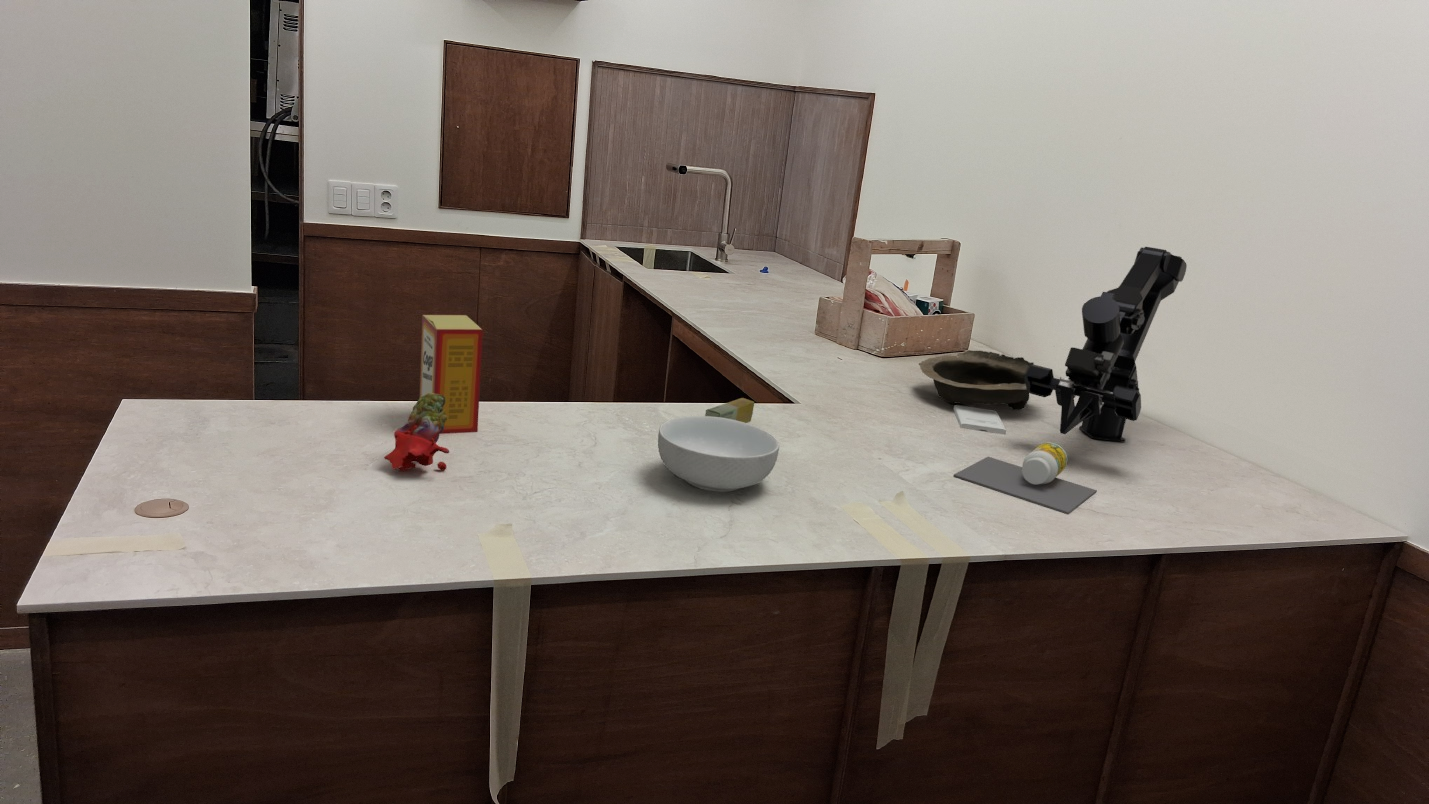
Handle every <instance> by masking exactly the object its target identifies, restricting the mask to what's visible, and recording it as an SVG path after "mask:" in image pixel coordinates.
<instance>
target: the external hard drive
mask: <svg viewBox="0 0 1429 804" xmlns="http://www.w3.org/2000/svg"><path fill="white" fill-rule="evenodd" d="M953 412H954V414H955V416H956V419H957V422H958V425H959V427H960V429H964V430H965V429H966V430H971V431H972V430H974V431H982V432H987V433H990V434H991V433H992V434H998V435H1007V429H1006V427H1005V426H1004V423H1003V421H1002V420H1001V417H1000V416H999V413H998V412H997V410H992V409H988V408H979V407H974V406H966V405H961V404H956V405H954V406H953Z"/></svg>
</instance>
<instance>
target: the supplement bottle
mask: <svg viewBox="0 0 1429 804" xmlns="http://www.w3.org/2000/svg"><path fill="white" fill-rule="evenodd" d="M1067 463H1068V456H1067V452H1066V451H1065V450H1064V448H1063V447H1061V446H1060V445H1059V444H1057V443H1053V442H1044V443H1042V444H1039V445H1038V446H1037V447H1036V448H1034V449H1033V450H1031V451H1030V452H1029V453H1028V454H1026V456H1025V457H1024V458H1023V462H1022V467H1023V468H1022V474H1023V476H1024V478H1025V479H1026V480H1027V481H1028V482H1029V483H1031V484H1047V483H1049V482H1051V481H1052V480H1054V479H1055V478H1058V476H1059V475H1060V474H1061V473H1062V472H1063V471H1064V469H1066V467H1067Z"/></svg>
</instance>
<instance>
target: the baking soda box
mask: <svg viewBox="0 0 1429 804" xmlns="http://www.w3.org/2000/svg"><path fill="white" fill-rule="evenodd" d="M483 331H484V330H483V329H482V328H481V327H480V326H479V325H478V324H477V323H476V322H475V321H474V320H472V319H471V318H470V317H469V316H468V315H467V314H422V315H421V338H420V339H421V341H420V370H419V371H420V373H419V398H418V400H419V399H420V398H421V397H422V396H424V395H426V394H428V393H435V394H439V395H443V396H444V397H445V404H444V405H443V408H442V409H443V410H445V415H446V416H447V420H446V421H445V423H444V429H443V431H442V432H441V433H440V435H444V434H461V433H463V434H465V433H478V430H479V429H478V427H479V408H480V407H479V406H480V394H481V393H480V391H481V388H480V387H481V374H482V373H481V368H482V355H483V353H482V350H483V334H484V333H483Z"/></svg>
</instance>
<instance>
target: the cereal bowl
mask: <svg viewBox="0 0 1429 804" xmlns="http://www.w3.org/2000/svg"><path fill="white" fill-rule="evenodd" d="M657 448H658V453H659V455H658V456H659V457H660V459H661V460H662V463H663V464H664V466H665V467H666V468H667V470H669V471H670V472H671V473H672V474H673V475H675V476H676V477H679V478H680V479H682V480H684V481H686V482H687V483H688V484H690V485H691V486H693V487H695V488H697V489H700V490H704V491H708V492H716V493H717V492H718V493H726V492H732V491H736V490H738V489H743V488H747V487H751V486H753V485H757V484H758V483H760V482H762V481H763V480H765V479H766V478H767V477H768V476H769V474H771V472H772V471H773V469H774V467H775V465H776V462H777V461H778V460H777V459H778V456H779V452H780V442H779V440H778V439H777V438H776V437H775V436H774V435H773V434H772V433H770V432H768V431H767V430H765V429H763V428H760V427H758V426H757V425H754V424H750V423H749V422H748V423H744V422H741V421H736V420H732V419H727V418H720V417H711V416H705V415H690V416H689V415H688V416H681V417H674V418H671V419H669V420H667V421H665V422H663V423H662V424H661V425H660V427H659V429H658V435H657Z"/></svg>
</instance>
